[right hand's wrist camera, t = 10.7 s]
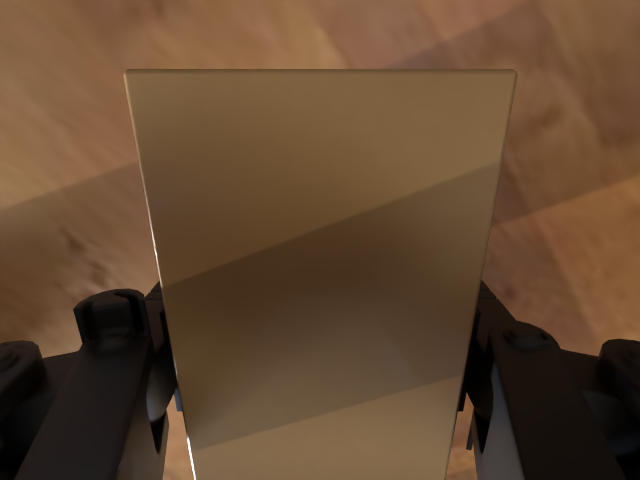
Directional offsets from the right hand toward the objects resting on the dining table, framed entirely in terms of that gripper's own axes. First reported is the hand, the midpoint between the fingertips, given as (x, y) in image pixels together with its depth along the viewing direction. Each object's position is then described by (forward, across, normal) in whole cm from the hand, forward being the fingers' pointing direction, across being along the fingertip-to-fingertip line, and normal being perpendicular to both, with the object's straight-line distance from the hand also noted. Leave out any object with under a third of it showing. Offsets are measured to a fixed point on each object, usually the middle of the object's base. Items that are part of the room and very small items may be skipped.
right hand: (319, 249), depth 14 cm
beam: (+1, 0, -30) cm, 30 cm away
